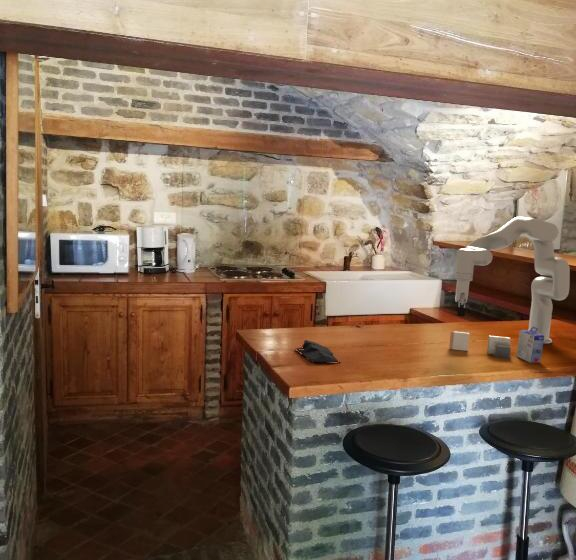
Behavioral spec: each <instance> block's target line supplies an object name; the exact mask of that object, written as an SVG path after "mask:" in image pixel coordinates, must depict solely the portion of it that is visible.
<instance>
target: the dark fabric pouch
mask: <svg viewBox="0 0 576 560" xmlns="http://www.w3.org/2000/svg"><path fill="white" fill-rule="evenodd" d="M302 347H303V348H302ZM296 349H297V350H298V351H299V352H301V353H302V355H304V356H305V357H306V358H308V359H309V360H310V361H309V360H308V359H307V360H308V361H309V362H311V361H312V362H311V363H313V362H338V360H339V359H338V358H337V357H336V356H335V357H336V358H337V359H338V360H337V359H336V358H335V357H334V356H333V354H334V353H333V352H332V351H331V350H330V348H328V347H327V346H323V345H322V344H320V343H317V342H315V341H312V340H311V341H310V340H307V339H305V340H304V341H303V344H302V346H301V347H297V348H296ZM299 349H304V350H299ZM302 355H301V356H302ZM304 356H303V357H304ZM305 357H304V358H305ZM306 358H305V359H306Z"/></svg>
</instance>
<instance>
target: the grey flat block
mask: <svg viewBox="0 0 576 560" xmlns="http://www.w3.org/2000/svg"><path fill="white" fill-rule="evenodd" d="M449 336H450V337H449V347H448V348H449V350H455V351H456V350H457V351H464V352H466V351H467V352H468V351H469V342H470V332H464V331H454V330H453V331H452V330H450V335H449Z"/></svg>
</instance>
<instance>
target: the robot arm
mask: <svg viewBox="0 0 576 560" xmlns="http://www.w3.org/2000/svg"><path fill="white" fill-rule="evenodd" d="M559 233H560V232H559V227H558V226H557V225H556V224H555V223H552V222H549V221H545V220H541V219H538V218H533V217H526V216H525V217H524V216H516V217H514V218H511V220H510V221H508V222H506V223H505V224H504V225H502V226H501V227H500V228H499V229H498V230H496V231H494V232H491V233H489V234H486V235H483V236H480V237H478V238H476V239H475V240H472V242H469V244H468V245H467V246H465V247H464V248H459V249H458V250H457V252H456V260H455V274H454V280H456V287H455V297H454V300H455V302H456V312H457V313H456V316H457V317H462V318H464V317H466V303H467V302H468V298H469V297H468V296H469V291H470V290H469V288H470V282H472V281H473V279H474V278H473V276H474V266H487V265H489V264H490V263H492V261H493V253H492V252H491V251H492V250H500V249H504V248H507V247H509V246H510V245H512V244H513V243H514V242H516V240H518V239H519V238H521V237H526V238H527V239H528V240H530V241H531V243H532V244H533V249H534V252H533V253H534V255H533V256H534V271H535V272H536V273H537V274H539V275H541V276H538V277H535V278H534V279H533V280H532V281H531V287H530V288H531V291H530V292H531V307H530V312H529V321H528V322H529V323H528V329H527V330H530V329H531V328H532V327H536V328H538V330H537V332H536V333H539V334H541V335H544V341H543V345H544V344H545V345H547V344H548V345H549V344H551V343H552V342H553V340H552V338H550V332H551V331H550V330H551V322H552V313H553V306H554V305H553V302H552V300H554V301H563V300H565V299H566V298H567V297H568V296H569V292H570V274H571V273H570V271H571V270H570V269H571V268H570V265H569V263H568V261H567V260H566V259H565V258H563V257H559V256H555V248H554V247H555V246H554V243H553V242H554V241H555V240H556V239H557V238H558V236H559ZM532 330H534V331H536V329H532Z"/></svg>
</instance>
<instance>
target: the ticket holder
mask: <svg viewBox="0 0 576 560" xmlns="http://www.w3.org/2000/svg"><path fill="white" fill-rule="evenodd" d="M511 340H512V339H511V337H507V336H498V335H497V336H496V335H488V338H487V349H486V354H489V355H494V357H495V358H500V359H501V358H502V359H509V360H510V359H511V350H512V348H511Z"/></svg>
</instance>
